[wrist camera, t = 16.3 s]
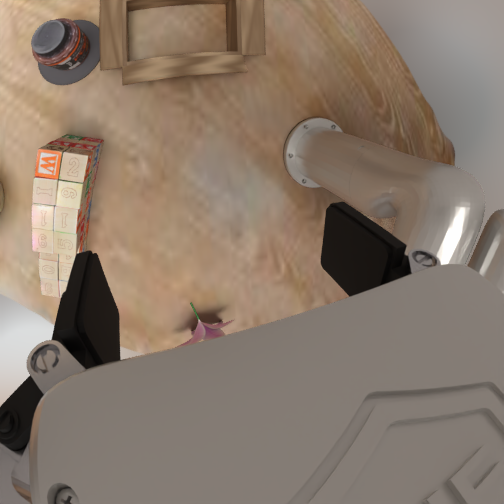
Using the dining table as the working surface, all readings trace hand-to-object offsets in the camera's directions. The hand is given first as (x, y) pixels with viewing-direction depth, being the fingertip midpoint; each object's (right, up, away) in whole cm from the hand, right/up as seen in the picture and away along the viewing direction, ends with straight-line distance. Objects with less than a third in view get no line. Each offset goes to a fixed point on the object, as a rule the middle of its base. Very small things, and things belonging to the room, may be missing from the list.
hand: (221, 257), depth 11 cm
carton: (-9, +31, +19) cm, 37 cm away
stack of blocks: (-26, +7, +26) cm, 38 cm away
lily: (-10, -13, +46) cm, 49 cm away
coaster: (-24, +27, +14) cm, 39 cm away
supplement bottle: (-23, +27, +14) cm, 39 cm away
